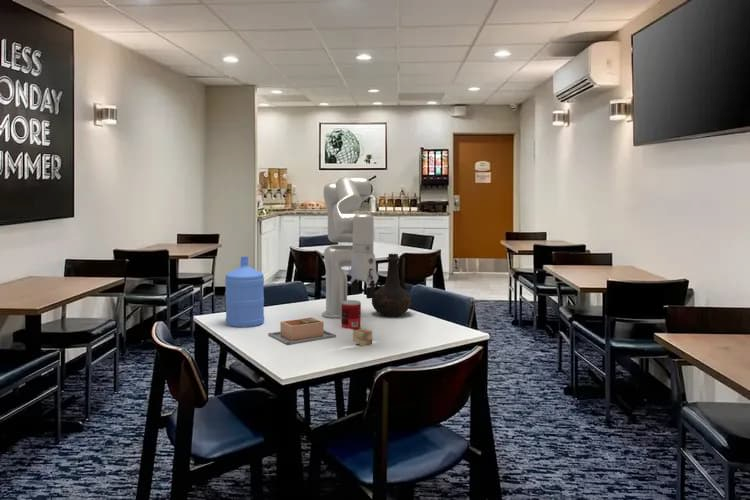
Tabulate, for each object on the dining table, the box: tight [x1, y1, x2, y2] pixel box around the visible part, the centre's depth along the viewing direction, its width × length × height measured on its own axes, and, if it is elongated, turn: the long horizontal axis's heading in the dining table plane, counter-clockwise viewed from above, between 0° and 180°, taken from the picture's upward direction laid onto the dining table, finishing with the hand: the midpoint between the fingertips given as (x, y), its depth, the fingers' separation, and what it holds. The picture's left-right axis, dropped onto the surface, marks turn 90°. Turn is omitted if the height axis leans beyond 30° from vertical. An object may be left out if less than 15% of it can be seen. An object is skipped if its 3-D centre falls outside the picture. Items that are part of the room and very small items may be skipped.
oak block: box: [352, 327, 373, 347], centre depth 194 cm, size 5×5×5 cm
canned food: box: [341, 299, 362, 330], centre depth 216 cm, size 8×8×11 cm
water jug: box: [224, 256, 265, 328], centre depth 222 cm, size 16×16×28 cm
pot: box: [279, 317, 325, 341], centre depth 200 cm, size 13×9×6 cm
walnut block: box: [300, 319, 318, 325], centre depth 201 cm, size 5×5×5 cm
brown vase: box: [371, 253, 412, 317], centre depth 242 cm, size 18×18×28 cm
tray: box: [267, 329, 337, 346], centre depth 200 cm, size 20×16×2 cm
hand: (362, 296), depth 192 cm, fingers open, 9 cm apart
